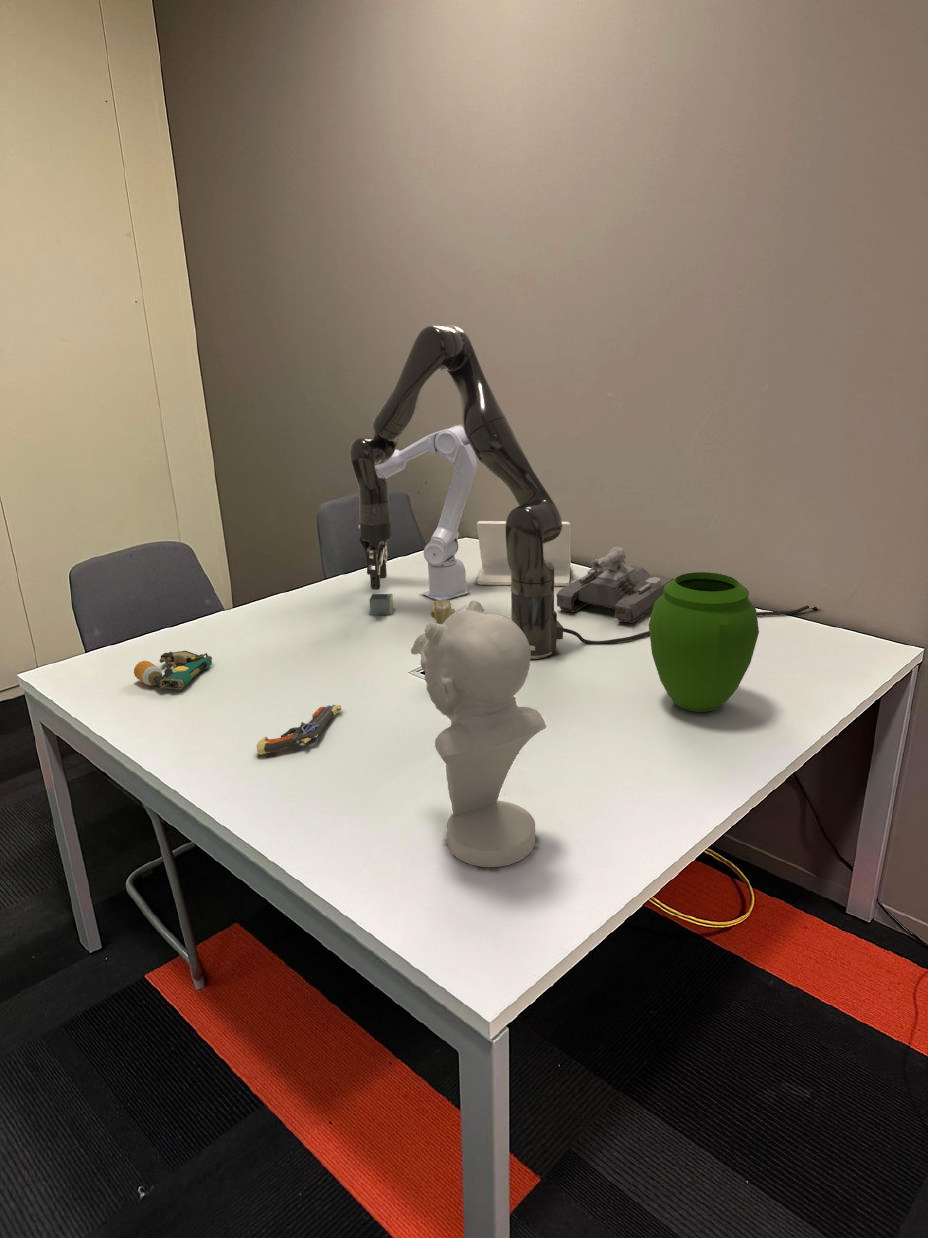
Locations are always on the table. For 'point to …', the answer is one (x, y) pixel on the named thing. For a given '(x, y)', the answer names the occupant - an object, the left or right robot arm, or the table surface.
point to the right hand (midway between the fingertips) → (379, 583)
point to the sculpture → (441, 611)
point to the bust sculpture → (481, 729)
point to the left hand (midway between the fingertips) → (375, 558)
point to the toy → (614, 588)
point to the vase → (702, 638)
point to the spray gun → (172, 669)
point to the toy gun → (299, 731)
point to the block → (381, 604)
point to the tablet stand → (496, 554)
